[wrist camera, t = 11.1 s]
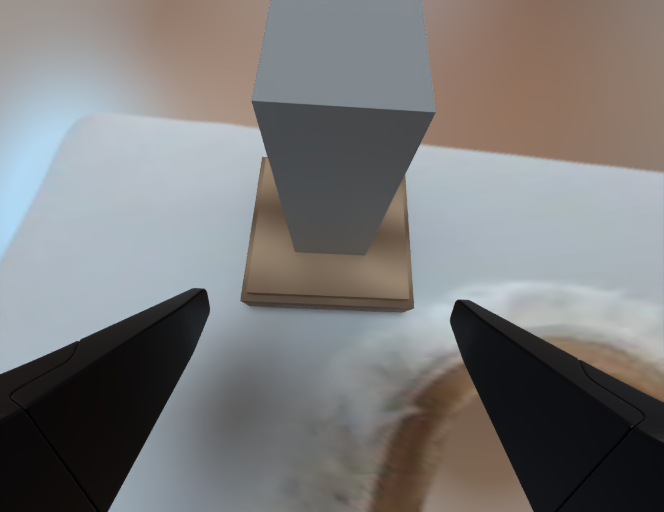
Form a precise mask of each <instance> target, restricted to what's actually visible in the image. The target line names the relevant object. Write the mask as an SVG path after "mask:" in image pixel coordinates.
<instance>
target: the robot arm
mask: <svg viewBox="0 0 664 512" xmlns="http://www.w3.org/2000/svg"><path fill="white" fill-rule="evenodd" d="M209 313H210V306H209V300H208V295H207V291H206V290H205V289H201V288H193V289H190V290H188V291H186V292H184V293H181V294H179V295H177V296H175V297H173V298H171V299H168V300H166V301H164V302H162V303H160V304H157V305H155V306H153V307H151V308H149V309H146V310H144V311H142V312H140V313H138V314H135V315H133V316H131V317H129V318H127V319H124V320H122V321H120V322H118V323H116V324H113V325H111V326H109V327H107V328H105V329H103V330H100V331H98V332H96V333H94V334H92V335H89V336H87V337H85V338H83V339H81V340H80V341H76V342H74V343H72V344H69V345H67V346H65V347H63V348H61V349H58V350H56V351H54V352H52V353H49V354H47V355H45V356H43V357H40V358H38V359H36V360H33V361H31V362H29V363H26V364H24V365H22V366H19V367H17V368H14V369H12V370H10V371H7V372H5V373H2V374H0V512H108V510H109V509H110V507H111V505H112V503H113V501H114V499H115V497H116V496H117V494H118V492H119V490H120V488H121V486H122V484H123V483H124V481H125V479H126V477H127V475H128V473H129V471H130V470H131V468H132V466H133V464H134V462H135V460H136V458H137V457H138V455H139V453H140V451H141V449H142V447H143V445H144V444H145V442H146V440H147V438H148V436H149V434H150V432H151V431H152V429H153V427H154V425H155V423H156V421H157V420H158V418H159V416H160V414H161V412H162V410H163V408H164V407H165V405H166V403H167V401H168V399H169V397H170V395H171V394H172V392H173V390H174V388H175V386H176V384H177V382H178V381H179V379H180V377H181V375H182V373H183V371H184V369H185V368H186V366H187V364H188V362H189V360H190V358H191V356H192V354H193V352H194V350H195V348H196V346H197V343H198V341H199V338H200V336H201V333H202V331H203V328H204V326H205V323H206V321H207V318H208V316H209ZM450 324H451V327H452V330H453V333H454V336H455V339H456V342H457V344H458V347H459V350H460V353H461V356H462V359H463V361H464V364H465V366H466V368H467V370H468V372H469V375H470V377H471V379H472V381H473V383H474V385H475V387H476V390H477V392H478V394H479V396H480V398H481V400H482V402H483V404H484V407H485V409H486V411H487V413H488V415H489V417H490V419H491V422H492V424H493V426H494V428H495V430H496V432H497V434H498V437H499V439H500V441H501V443H502V445H503V447H504V449H505V452H506V453H507V456H508V458H509V460H510V462H511V464H512V467H513V469H514V471H515V473H516V475H517V477H518V479H519V481H520V484H521V486H522V488H523V490H524V492H525V494H526V496H527V499H528V500H529V503H530V505H531V507H532V509H533V511H534V512H664V402H662V401H660V400H658V399H656V398H654V397H652V396H650V395H648V394H646V393H644V392H642V391H640V390H638V389H636V388H634V387H632V386H630V385H628V384H626V383H624V382H622V381H620V380H618V379H616V378H614V377H612V376H610V375H608V374H606V373H604V372H603V371H601V370H599V369H597V368H595V367H593V366H591V365H589V364H587V363H586V362H584V361H582V360H578V358H576V357H574V356H572V355H571V354H569V353H567V352H565V351H563V350H561V349H559V348H557V347H556V346H554V345H552V344H550V343H548V342H546V341H544V340H543V339H541V338H539V337H537V336H535V335H533V334H531V333H530V332H528V331H526V330H524V329H522V328H520V327H518V326H516V325H515V324H513V323H511V322H509V321H507V320H505V319H503V318H502V317H500V316H498V315H496V314H494V313H492V312H490V311H488V310H487V309H485V308H483V307H481V306H479V305H477V304H475V303H474V302H472V301H470V300H457V301H456V302H455V304H454V308H453V311H452V314H451V317H450Z"/></svg>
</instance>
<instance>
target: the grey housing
mask: <svg viewBox="0 0 664 512" xmlns="http://www.w3.org/2000/svg"><path fill="white" fill-rule="evenodd" d="M428 55H429V54H428V47H427V38H426V30H425V22H424V14H423V6H422V0H270V5H269V10H268V16H267V21H266V26H265V32H264V37H263V42H262V48H261V53H260V58H259V64H258V69H257V74H256V80H255V85H254V90H253V96H252V104H253V107H254V111H255V114H256V118H257V121H258V125H259V128H260V132H261V135H262V139H263V142H264V146H265V149H266V153H267V156H268V160H269V163H270V167H271V170H272V174H273V177H274V181H275V184H276V188H277V191H278V195H279V198H280V202H281V205H282V209H283V212H284V216H285V219H286V223H287V226H288V230H289V233H290V236H291V240H292V243H293V247H294V250H295V252H302V253H323V254H343V255H364V256H365V255H366V253H367V251H368V249H369V247H370V245H371V243H372V241H373V238H374V236H375V234H376V232H377V230H378V228H379V226H380V224H381V222H382V220H383V218H384V216H385V214H386V212H387V210H388V208H389V206H390V204H391V202H392V200H393V198H394V196H395V194H396V192H397V190H398V188H399V186H400V184H401V182H402V180H403V178H404V176H405V173H406V171H407V169H408V167H409V165H410V163H411V161H412V159H413V157H414V155H415V153H416V151H417V149H418V147H419V145H420V143H421V141H422V139H423V137H424V135H425V133H426V131H427V129H428V126H429V124H430V123H431V121H432V119H433V117H434V114H435V113H436V111H435V103H434V95H433V87H432V79H431V70H430V63H429V56H428Z"/></svg>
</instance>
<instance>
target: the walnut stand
mask: <svg viewBox="0 0 664 512" xmlns="http://www.w3.org/2000/svg"><path fill="white" fill-rule="evenodd" d="M240 301H242V302H244V303H245V304H247V305H249V306H267V307H291V308H315V309H339V310H363V311H387V312H405V311H408V310H411V309H413V308H414V299H413V284H412V269H411V255H410V240H409V225H408V210H407V195H406V180H405V176H404V178H403V180H402V182H401V184H400V186H399V188H398V190H397V192H396V194H395V196H394V198H393V200H392V202H391V204H390V206H389V208H388V210H387V212H386V214H385V216H384V218H383V220H382V222H381V224H380V226H379V228H378V230H377V232H376V234H375V236H374V238H373V241H372V243H371V245H370V247H369V249H368V251H367V253H366V255H365V256H364V255H343V254H323V253H302V252H295V250H294V247H293V243H292V240H291V236H290V233H289V230H288V226H287V223H286V219H285V216H284V212H283V209H282V205H281V202H280V198H279V195H278V191H277V188H276V184H275V181H274V177H273V174H272V170H271V167H270V163H269V160H268V157H262V162H261V168H260V175H259V182H258V188H257V195H256V201H255V208H254V214H253V221H252V228H251V234H250V241H249V247H248V254H247V260H246V267H245V274H244V280H243V287H242V293H241V300H240Z"/></svg>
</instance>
